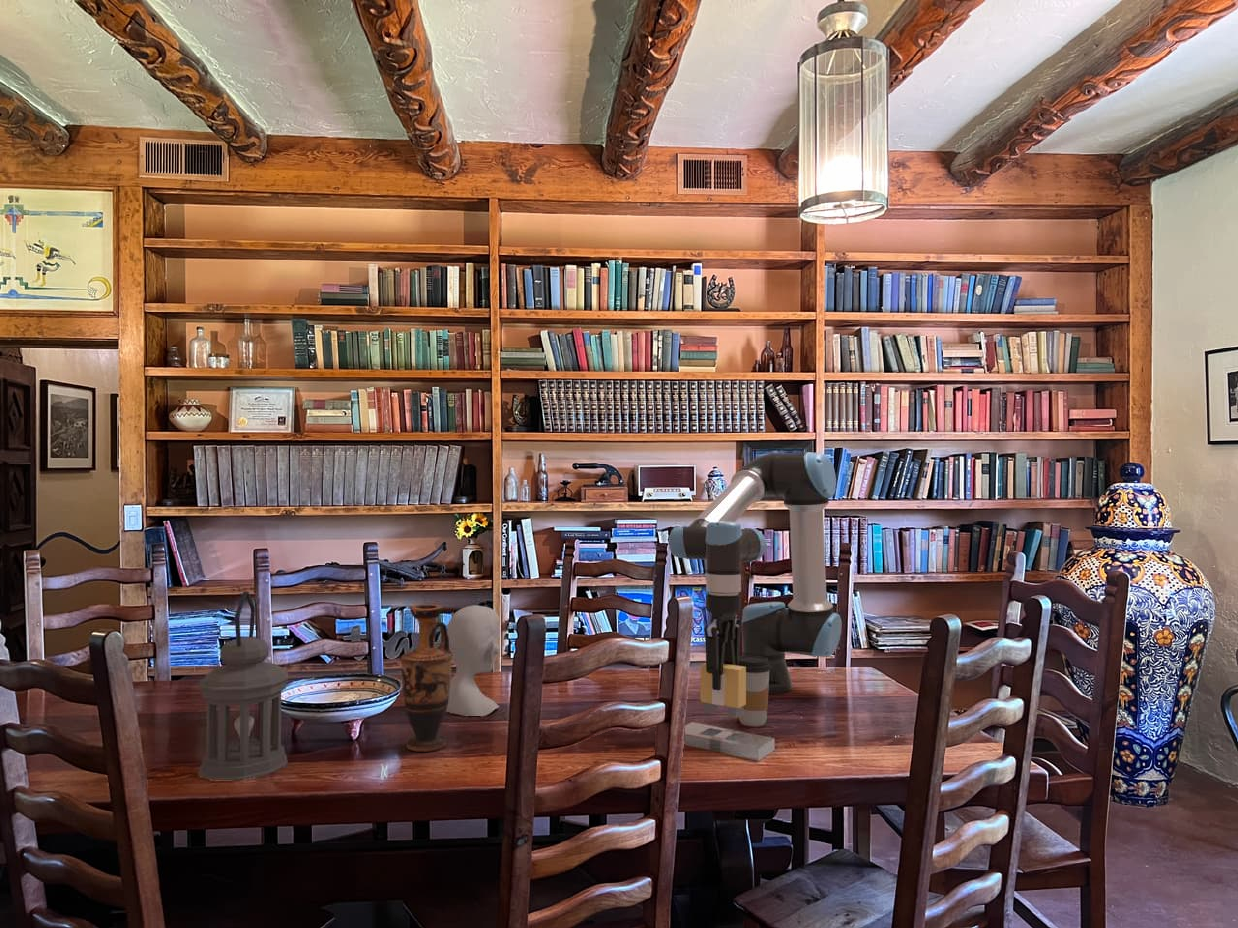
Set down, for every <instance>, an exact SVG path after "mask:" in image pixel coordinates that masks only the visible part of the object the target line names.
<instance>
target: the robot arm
mask: <svg viewBox="0 0 1238 928" xmlns="http://www.w3.org/2000/svg"><path fill="white" fill-rule="evenodd" d="M835 471H836V470H835V467H834V465H833V463H832V461H831V459H830V458H829V456H827V455H826V454H825V453H822V452H812V451H811V452H809V451H808V452H807V451H806V452H786V453H785V452H783V453H778V452H774V453H773V452H772V453H768V454H764V455H761V456H759V457H757V458H754V459H753V460H750V461H749V462H748V463H746V464H745V465H743V466H742V467H741V468H740V469H739V470H737V471H735V473H734V474H733V475H732V477H731V480H730V484H729V485H728V486H727V487H726V488H725V489H724V490H723V491H722V492H721V493H719V495H718V496H717V497H715V499H714V500H713V501H712V502H711V503H710V504H709V505H708V506H707V507H706V508H705V509H704V510H703V511H702V512H701V513H700V514H699V516H697V517H696V518H695V519H694V520H693V522H691V524H689V525H688V526H686V525H681V526H675V527H673V528H672V530H671V532H670V534H669V535H668V536H669V538H668V547H669V551H670V553H671V555H673V556H674V557H675V558H681V559H686V560H704V561H706V562H705V563H706V564H705V565H706V567H705V568H706V570H705V573H706V576H705V579H704V580H705V590H706V592H708V593H706V595H705V610H706V611H707V612H708V613H711V618H710V625H708V626H706V625H705V626H704V628H703V633H704V636H705V663H706V671H707V673H711V674H712V704H715V705H718V706H722V707H725V706H724V705H725V674H723V665H724V664H729V665H739V657H740V651H741V650H740V647H741V645H740V644H742V648H741V649H742V655H741V656H761V657H765V658H767V659H768V663H769V664H770V671H769V692H768V695H777V694H783V693H788V692H790V691H791V690H792V686H793V684H792V678H791V674H790V672H789V668H788V665H787V661H786V653H787V654H796V655H804V656H809V657H813V658H817V657H819V658H820V657H821V658H828V657H831V656H832V655H833V654H835V651H836V650H837V648H838V645H839V642H840V639H841V635H842V627H843V626H842V619H841V615H840V614H838V613H836V612H834V608H833V604H832V602H830V601H829V600H828V599H827V579H826V577H827V576H826V554H825V553H826V552H825V527H824V524H825V523H824V509H825V508H826V507H827V506H828V504H829V502H830V501H829V499H830V498H832V497H834V495H835V493H836V487H837V478H836V477H837V476H836V472H835ZM767 497H783V506H784V507H786V509H788V511H789V525H790V548H791V569H792V571H791V572H792V593H793V597H792V600H791V601H790V602H789V603H788V604H787V608H786V604H785V603H784V602H783V601H782V602H781V601H769V602H767V601H766V602H760V603H753V604H748V605H746V606H744V607H743V609H742V596H741V594H739V593H741V591H742V563H753V562H755V561H757V560H759V559H761V558H762V557H763V556H764V554H765V553H766V552H767V539H766V537H765V535H764V534H763V533H762V532H761V531H760V530H759V529H755V528H751V527H750V528H747V527H745V528H742V526H741V524H740V523H739V522H738V519H740V517H741V516H742V515H743V514H744V513H745V512H746V510H748V509H749V507H750V506H752V505H753V504H756V503H758V502H760V501H761V499H763V498H767ZM741 610H742V616H741V617H742V619H737V617H736V614H737V613H739V612H741ZM741 631H742V632H741ZM741 633H742V634H741ZM741 636H742V638H741ZM741 642H742V643H741Z"/></svg>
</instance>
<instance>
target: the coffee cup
mask: <svg viewBox="0 0 1238 928" xmlns="http://www.w3.org/2000/svg"><path fill="white" fill-rule="evenodd" d="M736 666H743V667H746V705H744V706H743V715H741V716H739V717H738V720H739V721H740V724H741V725H743V726H747V727H762V726H764V725H765V724H766V723H767V715H768V707H769V704H768V703H769V694H768V692H769V671H770V664H769V663H768V659H767V658H765V657H761V656H742V655H741V656H740V655H739V665H736Z"/></svg>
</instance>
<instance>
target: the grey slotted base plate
mask: <svg viewBox="0 0 1238 928" xmlns="http://www.w3.org/2000/svg"><path fill="white" fill-rule="evenodd" d="M684 726H685V745H684V746H688V747H692V748H696V749H701V750H706V751H711V752H714V753H719V754H725V755H728V756H734V757H737V758H742V759H747V760H753V761H756V762H760V761H761V760H762V759H764V758H765V757H767V756H768V755H770V754H771V753H772V752H774V751H775V737H770V736H764V735H759V734H755V733H749V732H746V731H745V732H744V731H740V730H734V729H730V728H725V727H720V726H719V727H718V726H714V725H709V724H704V723H697V722H693V721H692V722H689V723H687V724H685V725H684Z"/></svg>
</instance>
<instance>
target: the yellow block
mask: <svg viewBox="0 0 1238 928" xmlns="http://www.w3.org/2000/svg"><path fill="white" fill-rule="evenodd" d="M723 674H725V705H724V706H723V707H727V717H728V718H733V719H738V718H739V716H741V715H743V706H744V705H746V667H743V666H736V665H729V664H724V665H723ZM700 702H702V713H705V714H709V715H710V714H712V713H713V714H714V713H715V712H717V711H719V705H715V704H712V674H711V673H707V671H706V662H703V663H701V664H700Z"/></svg>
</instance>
